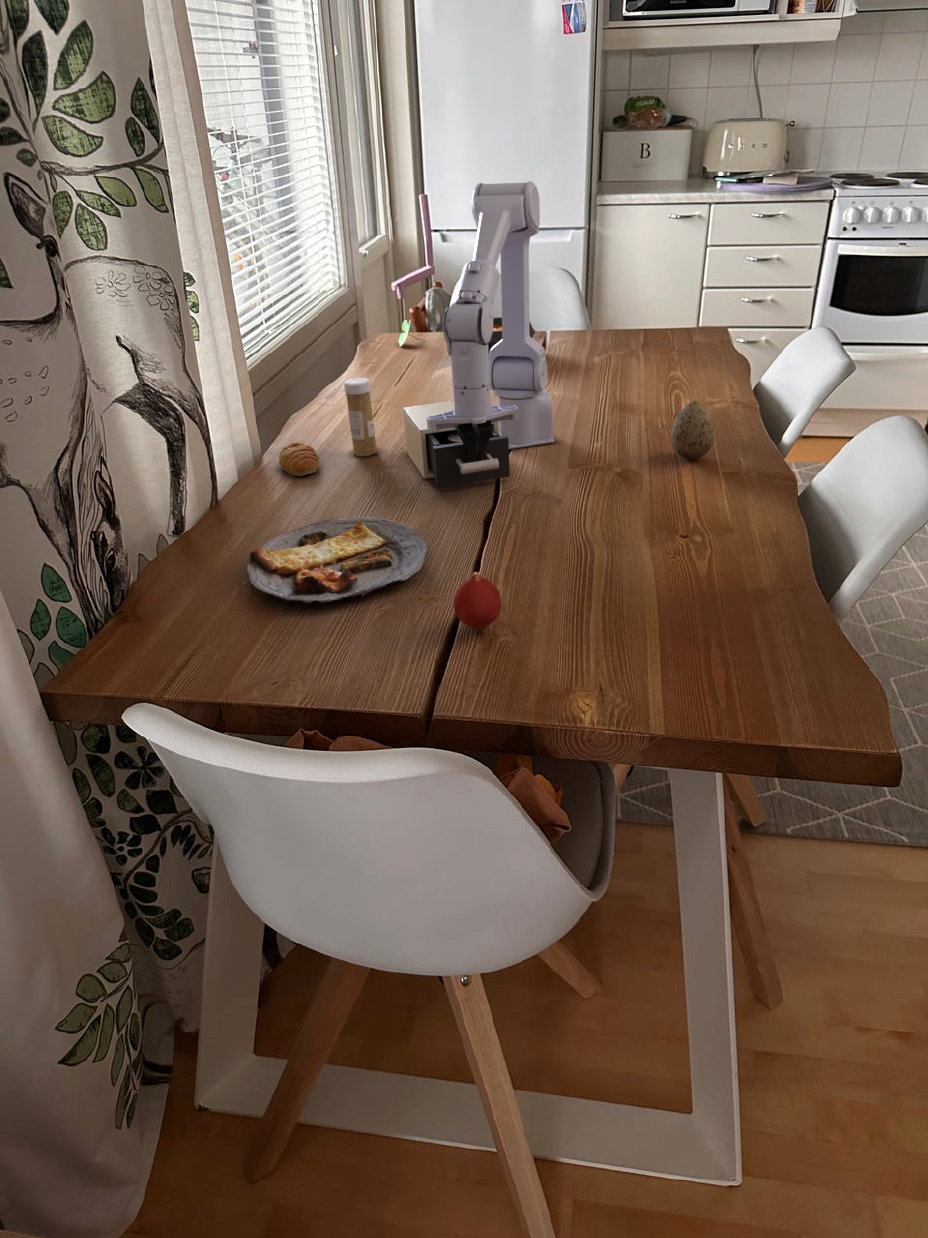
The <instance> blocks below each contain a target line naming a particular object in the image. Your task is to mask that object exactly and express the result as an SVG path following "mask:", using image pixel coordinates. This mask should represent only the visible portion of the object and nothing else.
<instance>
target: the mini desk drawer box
mask: <svg viewBox="0 0 928 1238" xmlns="http://www.w3.org/2000/svg"><path fill="white" fill-rule="evenodd" d="M402 409H403V410H402V411H403V421H404V430H405V432H404V433H405V441H406V452H407V455H408V457H409V458H410V459H411V461H412V462H413V464H414V465H415V467H416V469H417V470H418V472H419V473H420V474H421V476H422V477H423V479H432V478H435V476H434V474H433V473H432V471H431V470H430V468H429V467H428V463H427V451H426V439H425V434H429V433H435V432H442V431H449V430H456V429H455V427H454V428H447V429H439V430H437V431H435V432H430V431H429V430H428V429H427V417H429V416H435V415H439V414H443V413H447V412H450V411H454V400H449V401H441V402H435V403H434V402H433V403H427V404H420V405H412V406H406V407H403V408H402ZM491 425H492V426H493V429H494V430H495V431H496V432H497V433H498V434H500V425H499V421H497V422H491Z"/></svg>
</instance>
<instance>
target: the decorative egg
mask: <svg viewBox="0 0 928 1238" xmlns="http://www.w3.org/2000/svg"><path fill="white" fill-rule="evenodd" d="M711 415H712V414H710V412H709V411H708V409H707V408H706V406H705V405H704V404H702V403H701V401H698V400H692V401H690V402H688V403H687V404H686V405H685V406H684V407H683V408H681V410H680V411H679V412H678V414H677V415H676V417H675V419H674V422H673V424H672V427H671V433H670V437H671V438H670V439H671V440H670V441H671V444H672V447H673V449H674V451H675V453H676V454H677V455H678V456H680V457H681V458H683V459H686V460H697V459H700V458H702V457H704V456H705V455H707V453H708V452H709V451H710V450H711V448H712V447H713V444H714V441H715V437H716V436H715V435H716V428H715V423H714V420H713V417H712V416H711Z"/></svg>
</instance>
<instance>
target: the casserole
mask: <svg viewBox="0 0 928 1238" xmlns="http://www.w3.org/2000/svg"><path fill="white" fill-rule="evenodd" d="M535 334H536V330H535V329H534V328H533V325H532V322H531V321H530V320H529V336H530V337H531V338H532V339H533V336H534V335H535ZM500 340H502V316H500V317H493V333H492V337H491V340H490V341H489V343H488V353H490V350H491V348H492V347H493V346H494V345H495V344H497V343H498V342H499V341H500ZM523 357H526V356H523Z"/></svg>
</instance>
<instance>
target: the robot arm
mask: <svg viewBox="0 0 928 1238" xmlns="http://www.w3.org/2000/svg"><path fill="white" fill-rule="evenodd" d="M540 209H541V208H540V194H539V190H538V187H537V185H536V184H535V183H534V182H533V181H527V182H503V183H501V182H500V183H499V182H498V183H483V182H479V183H477V184H476V186H475V188H474V189H473V191H472V195H471V212H472V218H473V220H474V223H475V226H476V229H477V230H476V231H477V232H476V238H475V243H474V249H473V257H472V260H470V261H468V262H467V263H465V265H464V266H463V268H462V272H461V275H460V279H459V283H458V286H457V291H456V294H455V298H454V301H453V303H452V304H451V305H450V306H447V307H446V309H445V311H444V313H443V319H442V334H443V337H444V340H445V342H446V350H447V355H448V356H450V360H451V361H450V362H451V363H450V364H451V378H452V394H453V401H454V411H450V412H447V413H443V414H439V415H435V416H429V417H427V429H428V430H429V431H430V432H435V431H437V430H439V429H447V428H454V427H455V429H456V431H457V433H458V434H459V436H460V438H461V440H462V442H463V445H464V447H465V450H466V452H467V455H468V459H469V463H470V462H477V461H483V458H484V454H485V450H486V447H487V445H488V442H489V440H490V438H491V436H492V434H493V426H492V425H491V422H497V421H498V424H499V435H500V436H507V437H508V442H509V450H514V449H519V448H527V447H533V446H539V445H547V444H552V443H554V442H555V439H554V426H553V425H554V420H553V419H554V418H553V417H554V415H553V412H554V411H553V401H552V397H551V395H550V392H549V391H548V390H547V389H545V388H546V386H547V382H548V364H547V363H548V362H547V359H546V357H547V356H546V350H545V347H544V346H543V345H542V344H541V343H539V342H537V341H536V340H535V339H534V338H533V337H532V338H531V337H530V336H529V321H530V241H531V238H532V237H533V236H535V235H537V234H539V232H540V231H539V230H540V221H541V220H540V217H541V216H540V214H541V213H540V211H541V210H540ZM499 258H500V273H499V270H498V269H497V267H496V266H497V264H498V260H499ZM499 283H500V287H501V289H500V290H501V298H500V299H501V317H502V340H500V341H499V342H498V343H497V344H495V345H494V346H493V347H492V348H491V350H490V353H488V343H489V341H490V340H491V337H492V333H493V318H495V317H494V316H495V308H494V307H493V306H494V301H495V297H496V294H497V291H498V287H499V286H498V285H499ZM523 356H526V357H523ZM491 391H493V392H494V396H495V397H498V400H497V401H498V405H494V406H493V405H492V404H491Z"/></svg>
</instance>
